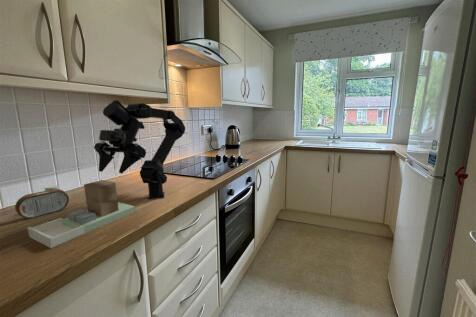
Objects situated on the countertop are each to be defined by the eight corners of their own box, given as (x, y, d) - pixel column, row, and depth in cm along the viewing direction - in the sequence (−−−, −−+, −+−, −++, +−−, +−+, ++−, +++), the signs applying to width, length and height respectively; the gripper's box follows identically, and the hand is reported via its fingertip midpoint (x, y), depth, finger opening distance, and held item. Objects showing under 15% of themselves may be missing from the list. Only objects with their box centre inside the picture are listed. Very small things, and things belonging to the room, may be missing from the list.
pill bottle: (47, 206, 93) (43, 186, 92) (61, 203, 96) (58, 183, 95) (47, 210, 90) (43, 189, 88) (62, 207, 93) (59, 186, 91)
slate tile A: (89, 217, 77) (88, 211, 77) (96, 219, 75) (95, 213, 75) (76, 222, 74) (75, 216, 74) (83, 224, 72) (82, 218, 72)
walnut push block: (105, 206, 86) (101, 180, 84) (118, 210, 82) (115, 182, 80) (88, 212, 81) (83, 184, 79) (101, 216, 77) (97, 187, 75)
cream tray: (62, 224, 77) (60, 216, 76) (84, 233, 70) (83, 224, 70) (29, 236, 69) (27, 227, 69) (50, 248, 63) (48, 237, 62)
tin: (68, 206, 93) (65, 186, 91) (71, 208, 91) (67, 187, 89) (17, 220, 82) (12, 197, 80) (19, 222, 80) (14, 198, 78)
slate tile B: (81, 214, 80) (80, 209, 79) (88, 216, 78) (87, 211, 77) (68, 219, 76) (67, 213, 76) (74, 221, 74) (73, 215, 74)
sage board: (115, 206, 92) (114, 201, 91) (135, 211, 86) (134, 206, 86) (63, 225, 76) (62, 219, 76) (83, 233, 71) (82, 227, 70)
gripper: (91, 120, 82) (69, 160, 76) (132, 119, 76) (112, 163, 69) (115, 136, 92) (97, 173, 85) (153, 137, 85) (137, 177, 79)
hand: (110, 172), depth 79 cm, fingers open, 9 cm apart
